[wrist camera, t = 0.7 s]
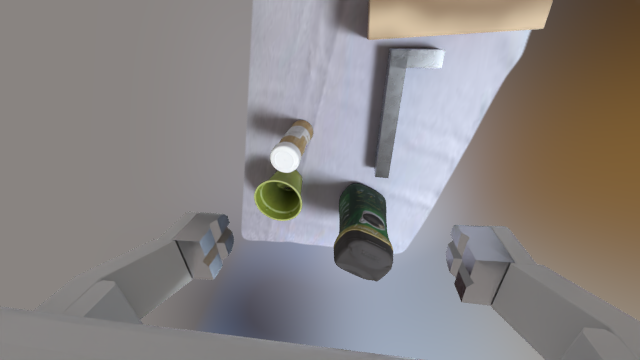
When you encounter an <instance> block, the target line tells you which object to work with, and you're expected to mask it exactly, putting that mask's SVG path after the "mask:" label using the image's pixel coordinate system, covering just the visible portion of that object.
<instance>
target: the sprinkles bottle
mask: <svg viewBox="0 0 640 360" xmlns="http://www.w3.org/2000/svg"><path fill="white" fill-rule="evenodd" d="M312 136H313V128H312V126H311V125H310V124H309V123H308V122H306V121H303V120H299V121H296V122H294V123H293V125H292V126H291V128H290V129H289V130H288V131H287V133H286V134H285V135H284V137H283V138H282V139H281V141H280V142H279V143H278V144H277V145H276V146H275V147H274V148H273V150H272V152H271V154H270V161H271V164H272V165H273V167H274V168H275V169H277V170H278V171H280V172H284V173H289V172H292V171H294V170H295V169H296V168H297V167H298V165H299V163H300V161H301V156H302V154H303V153H304V151H305V149H306V147H307V145H308V143H309V141H310V139H311V138H312Z"/></svg>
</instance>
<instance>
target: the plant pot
mask: <svg viewBox="0 0 640 360" xmlns="http://www.w3.org/2000/svg"><path fill="white" fill-rule="evenodd" d="M285 187H287V188H291V189H286V188H285ZM301 187H302V177H301V175H300V174H299V173H298V172H297V170H294V171H292V172H289V173H284V172H280V171H277V172H276V173H275V174H274V175H273V176H272V177H271V178H270V179H269V180H267V181H265V182H263V183H261V184H260V185H259V186H258V187H257V188H256V190H255V194H254V200H255V203H256V205H257V207H258V209H259V210H260V211H261V212H262V213H263V214H264V215H266V216H267V217H269V218H271V219H274V220H279V221H286V220H290V219H293V218H295V217H296V216H297V215H298V214H299V213H300V211H301V209H302V198H301Z"/></svg>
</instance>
